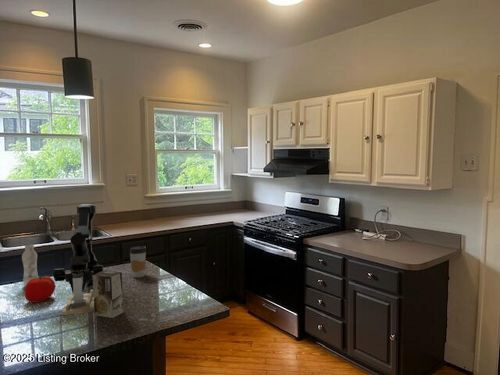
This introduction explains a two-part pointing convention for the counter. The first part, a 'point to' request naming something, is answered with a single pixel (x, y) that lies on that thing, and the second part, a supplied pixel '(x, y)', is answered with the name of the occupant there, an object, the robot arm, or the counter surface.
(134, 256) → the coffee cup
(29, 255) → the plastic bottle
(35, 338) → the counter surface
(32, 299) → the tomato
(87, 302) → the fader track
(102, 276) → the coffee box
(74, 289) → the fader knob
